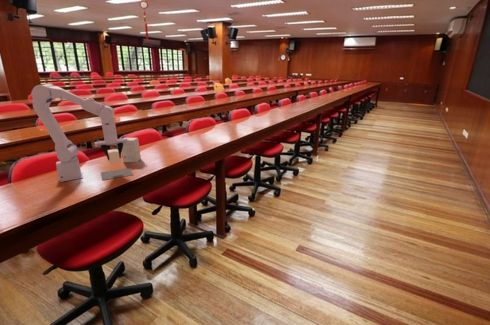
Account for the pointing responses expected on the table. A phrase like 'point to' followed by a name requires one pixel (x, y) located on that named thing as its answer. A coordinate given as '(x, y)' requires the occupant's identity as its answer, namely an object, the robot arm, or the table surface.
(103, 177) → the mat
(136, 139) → the small box
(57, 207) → the table surface
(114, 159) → the eraser block
